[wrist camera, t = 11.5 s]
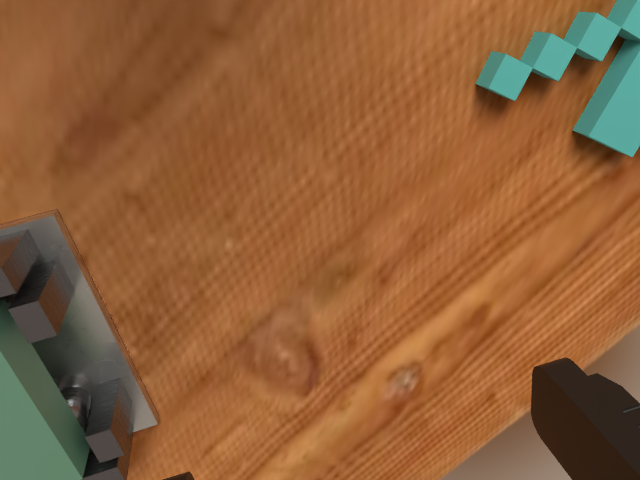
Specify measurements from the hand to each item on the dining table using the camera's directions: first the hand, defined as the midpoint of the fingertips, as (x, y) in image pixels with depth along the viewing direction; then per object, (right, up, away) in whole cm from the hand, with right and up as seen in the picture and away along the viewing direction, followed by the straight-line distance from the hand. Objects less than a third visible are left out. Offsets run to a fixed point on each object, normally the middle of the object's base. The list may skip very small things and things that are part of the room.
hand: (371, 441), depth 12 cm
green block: (-20, -5, +21) cm, 29 cm away
